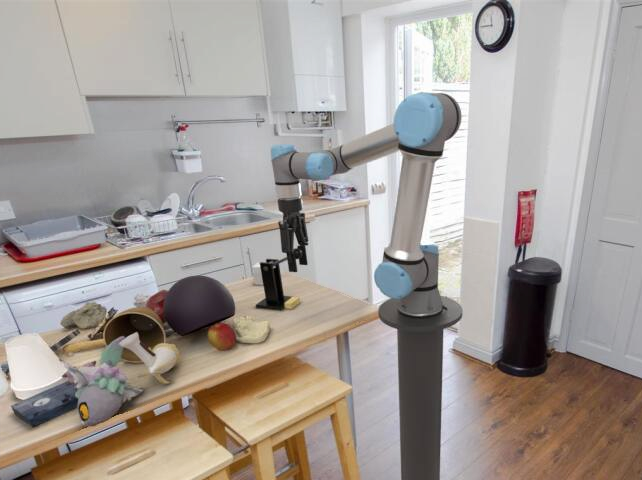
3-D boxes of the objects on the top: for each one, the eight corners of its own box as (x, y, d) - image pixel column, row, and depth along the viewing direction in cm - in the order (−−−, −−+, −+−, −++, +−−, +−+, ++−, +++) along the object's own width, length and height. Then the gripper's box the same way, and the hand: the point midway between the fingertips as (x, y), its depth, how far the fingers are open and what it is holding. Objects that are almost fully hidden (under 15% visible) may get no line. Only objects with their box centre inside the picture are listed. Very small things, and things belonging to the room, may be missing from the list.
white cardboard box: (259, 279, 186) (256, 262, 183) (274, 279, 186) (271, 262, 182) (254, 285, 181) (251, 267, 177) (269, 284, 180) (266, 267, 177)
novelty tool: (174, 328, 149) (64, 350, 133) (172, 318, 148) (60, 340, 132) (180, 338, 143) (65, 362, 127) (178, 328, 142) (62, 352, 126)
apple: (240, 331, 138) (232, 316, 132) (237, 354, 134) (229, 340, 127) (215, 332, 138) (206, 317, 131) (211, 355, 134) (201, 341, 127)
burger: (108, 309, 134) (131, 324, 138) (116, 303, 145) (138, 317, 148) (80, 340, 134) (105, 355, 137) (91, 332, 144) (113, 346, 148)
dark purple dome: (174, 340, 143) (151, 295, 141) (235, 316, 152) (215, 273, 150) (175, 336, 125) (149, 283, 123) (244, 309, 134) (221, 259, 132)
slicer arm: (305, 255, 153) (300, 245, 152) (300, 258, 150) (295, 248, 149) (272, 270, 159) (266, 261, 158) (266, 273, 156) (261, 264, 155)
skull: (183, 300, 161) (181, 314, 163) (141, 286, 160) (140, 301, 162) (172, 308, 154) (171, 322, 157) (128, 294, 153) (128, 309, 156)
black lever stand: (295, 299, 166) (289, 257, 159) (281, 310, 157) (274, 266, 150) (270, 297, 168) (263, 256, 161) (256, 307, 160) (248, 264, 153)
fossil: (66, 297, 144) (53, 324, 145) (97, 313, 144) (83, 340, 145) (95, 296, 158) (83, 320, 159) (123, 311, 159) (110, 335, 160)
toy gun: (136, 324, 125) (168, 369, 131) (104, 351, 106) (143, 402, 111) (169, 308, 126) (199, 353, 131) (143, 332, 106) (180, 384, 112)
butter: (299, 302, 163) (299, 297, 163) (291, 309, 158) (291, 303, 157) (293, 301, 164) (292, 296, 163) (284, 308, 159) (284, 303, 158)
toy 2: (86, 436, 99) (61, 377, 92) (75, 404, 110) (52, 350, 103) (156, 410, 107) (137, 354, 100) (139, 383, 118) (121, 331, 111)
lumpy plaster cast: (237, 329, 145) (236, 312, 142) (271, 332, 146) (271, 314, 143) (228, 344, 135) (227, 326, 132) (264, 346, 136) (264, 328, 134)
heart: (145, 291, 152) (161, 283, 147) (167, 302, 158) (183, 294, 152) (133, 322, 147) (149, 315, 141) (156, 333, 152) (172, 325, 147)
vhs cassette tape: (13, 414, 107) (32, 428, 102) (8, 404, 105) (27, 417, 100) (95, 380, 120) (115, 390, 115) (92, 370, 119) (112, 380, 114)
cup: (-24, 350, 106) (2, 398, 113) (21, 354, 104) (45, 402, 111) (23, 326, 116) (44, 371, 123) (64, 329, 114) (84, 374, 121)
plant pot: (110, 297, 133) (97, 314, 119) (166, 293, 137) (160, 310, 124) (120, 344, 138) (109, 366, 124) (174, 339, 143) (169, 359, 129)
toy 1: (29, 366, 128) (43, 359, 123) (24, 362, 127) (38, 355, 122) (71, 337, 138) (86, 329, 133) (67, 333, 138) (82, 325, 132)
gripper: (293, 192, 152) (301, 258, 163) (262, 203, 136) (273, 276, 146) (313, 192, 150) (321, 260, 161) (284, 204, 134) (294, 278, 144)
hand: (298, 268), depth 154 cm, fingers open, 7 cm apart
